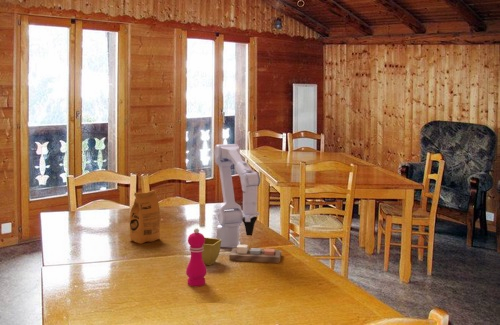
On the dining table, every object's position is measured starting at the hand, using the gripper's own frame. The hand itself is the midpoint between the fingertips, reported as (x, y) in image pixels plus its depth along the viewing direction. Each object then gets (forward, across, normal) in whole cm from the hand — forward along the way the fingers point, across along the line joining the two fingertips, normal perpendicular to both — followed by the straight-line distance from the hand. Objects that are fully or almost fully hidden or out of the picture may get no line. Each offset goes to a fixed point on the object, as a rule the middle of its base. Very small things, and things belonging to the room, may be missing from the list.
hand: (249, 235), depth 244 cm
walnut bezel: (+9, 0, -3) cm, 10 cm away
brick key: (+9, 0, -8) cm, 12 cm away
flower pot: (+10, -10, +15) cm, 21 cm away
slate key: (+9, 0, -3) cm, 9 cm away
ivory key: (+8, 0, +3) cm, 8 cm away
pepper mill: (+9, -34, +15) cm, 38 cm away
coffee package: (+10, +19, +49) cm, 53 cm away
